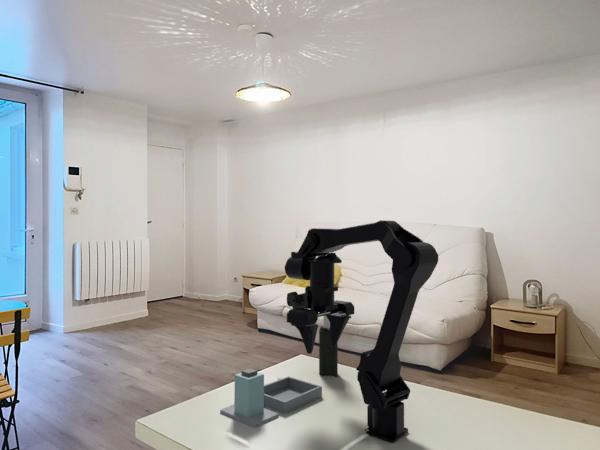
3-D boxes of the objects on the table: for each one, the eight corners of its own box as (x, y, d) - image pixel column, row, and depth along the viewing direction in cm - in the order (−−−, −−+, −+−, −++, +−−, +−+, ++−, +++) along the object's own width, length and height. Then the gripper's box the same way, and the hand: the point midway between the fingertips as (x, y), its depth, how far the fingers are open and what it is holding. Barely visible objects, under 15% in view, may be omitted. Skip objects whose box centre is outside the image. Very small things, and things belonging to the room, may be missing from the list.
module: (263, 411, 93) (264, 370, 93) (248, 417, 89) (248, 375, 89) (249, 405, 96) (250, 366, 96) (234, 411, 92) (234, 371, 92)
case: (321, 398, 103) (321, 386, 103) (284, 416, 93) (284, 402, 93) (285, 387, 111) (285, 375, 111) (248, 401, 101) (248, 389, 101)
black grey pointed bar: (337, 372, 122) (337, 285, 123) (337, 378, 117) (337, 287, 118) (319, 371, 123) (319, 285, 123) (318, 377, 118) (319, 287, 118)
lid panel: (278, 419, 91) (278, 413, 91) (254, 430, 86) (254, 424, 86) (244, 405, 99) (244, 400, 99) (220, 415, 93) (220, 409, 93)
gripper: (320, 276, 112) (320, 336, 111) (269, 282, 98) (269, 351, 97) (355, 279, 104) (355, 343, 104) (306, 286, 90) (306, 360, 90)
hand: (322, 349), depth 99 cm, fingers open, 9 cm apart
